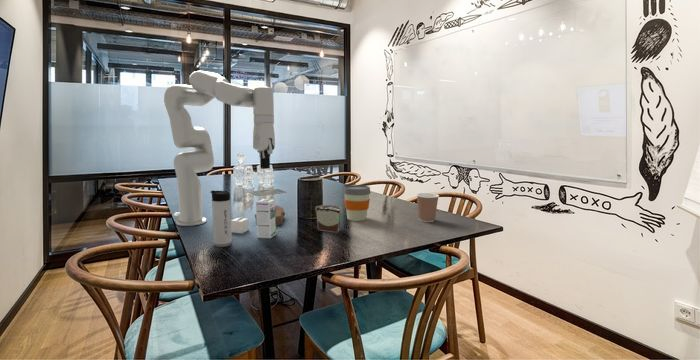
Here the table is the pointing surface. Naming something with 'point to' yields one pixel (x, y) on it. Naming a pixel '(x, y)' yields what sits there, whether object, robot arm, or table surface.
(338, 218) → the food container
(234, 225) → the white block
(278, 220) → the wooden toy blocks
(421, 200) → the coffee cup
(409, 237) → the table surface
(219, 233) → the travel mug
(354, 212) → the reusable coffee cup
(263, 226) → the syrup box
